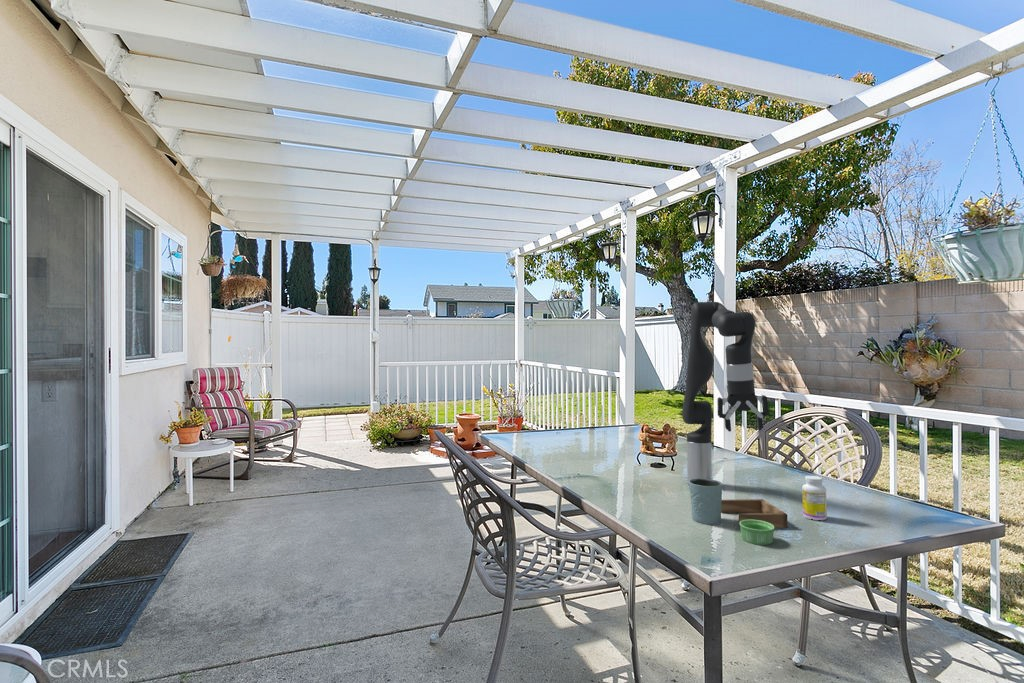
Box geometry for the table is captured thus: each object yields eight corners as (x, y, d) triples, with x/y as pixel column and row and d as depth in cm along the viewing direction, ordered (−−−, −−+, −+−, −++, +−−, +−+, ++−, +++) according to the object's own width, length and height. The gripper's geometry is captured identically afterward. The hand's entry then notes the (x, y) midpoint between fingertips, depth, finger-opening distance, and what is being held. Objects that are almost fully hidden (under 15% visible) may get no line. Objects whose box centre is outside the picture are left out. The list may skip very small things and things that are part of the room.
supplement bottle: (806, 512, 167) (805, 473, 167) (829, 517, 162) (828, 477, 162) (799, 517, 162) (799, 477, 162) (823, 522, 157) (822, 481, 158)
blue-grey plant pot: (702, 526, 155) (701, 487, 155) (682, 516, 165) (682, 479, 165) (730, 523, 158) (729, 484, 158) (709, 513, 168) (708, 476, 168)
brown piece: (719, 511, 169) (719, 499, 169) (762, 511, 169) (762, 499, 169) (740, 528, 154) (740, 514, 154) (787, 527, 154) (787, 514, 154)
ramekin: (749, 532, 151) (749, 517, 151) (780, 541, 143) (780, 525, 143) (733, 539, 145) (733, 523, 145) (764, 548, 138) (764, 532, 138)
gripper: (762, 374, 157) (766, 426, 158) (713, 377, 161) (717, 428, 161) (768, 378, 150) (772, 432, 150) (717, 381, 153) (721, 434, 154)
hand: (744, 430), depth 156 cm, fingers open, 8 cm apart
